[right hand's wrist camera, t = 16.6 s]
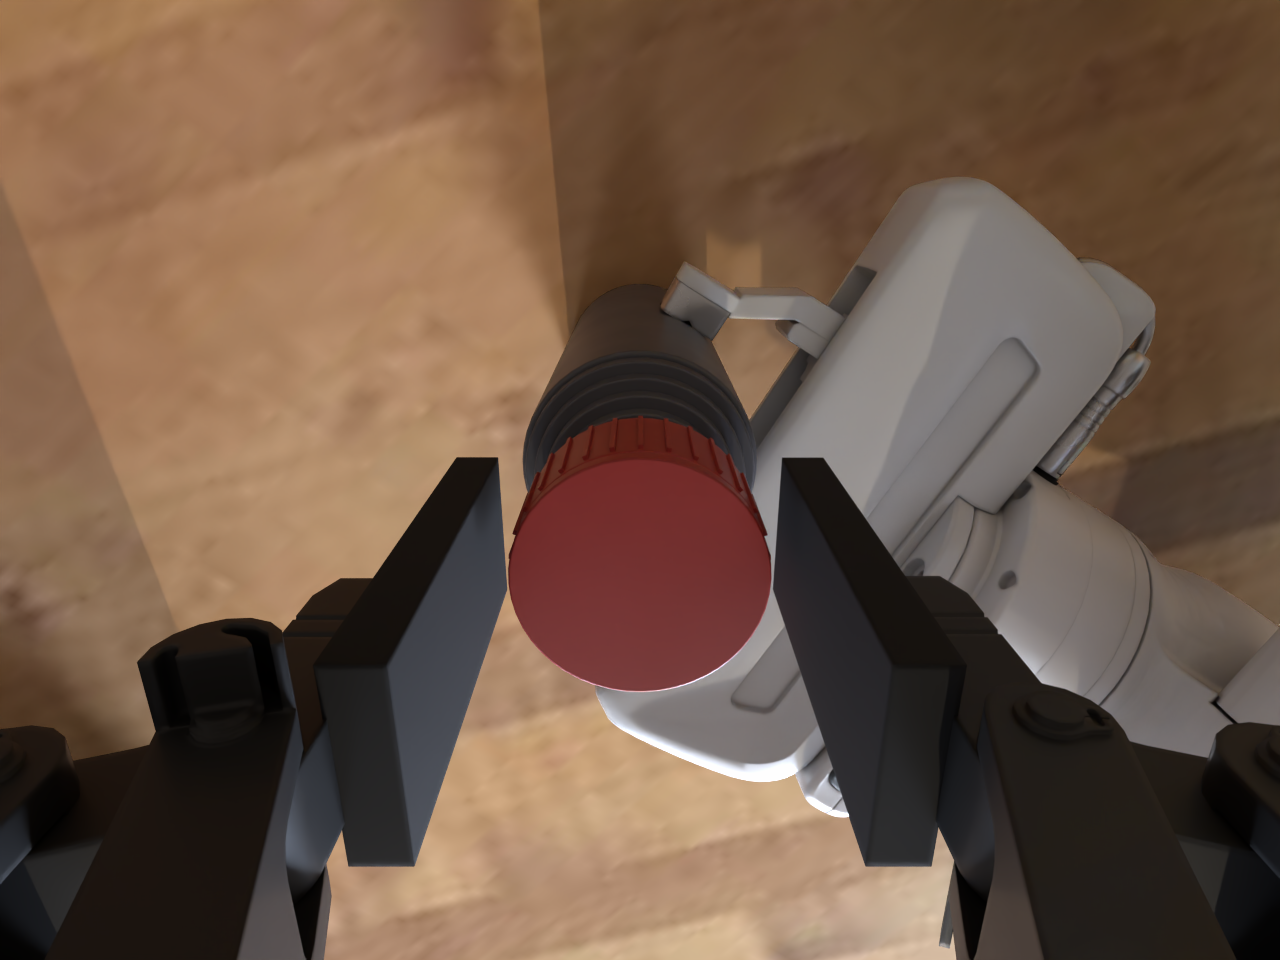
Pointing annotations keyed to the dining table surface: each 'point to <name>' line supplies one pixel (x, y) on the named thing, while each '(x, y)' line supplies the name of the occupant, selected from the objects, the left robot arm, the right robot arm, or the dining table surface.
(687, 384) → the bottle
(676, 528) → the cap
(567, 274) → the dining table surface
